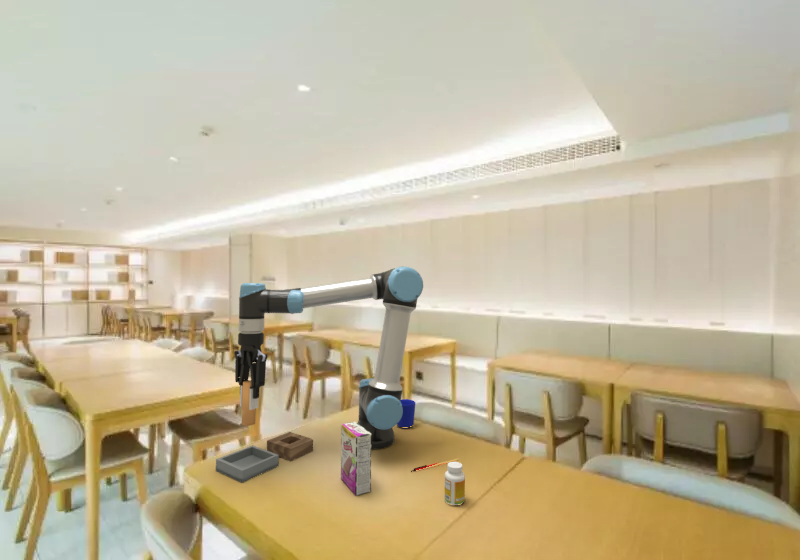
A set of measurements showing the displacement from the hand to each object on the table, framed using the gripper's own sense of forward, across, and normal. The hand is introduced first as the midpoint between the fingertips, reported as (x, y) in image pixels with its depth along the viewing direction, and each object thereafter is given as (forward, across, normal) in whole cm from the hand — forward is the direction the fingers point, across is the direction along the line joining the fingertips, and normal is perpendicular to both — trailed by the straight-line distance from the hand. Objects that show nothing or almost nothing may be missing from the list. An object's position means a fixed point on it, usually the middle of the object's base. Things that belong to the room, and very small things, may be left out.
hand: (248, 407), depth 121 cm
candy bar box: (+19, +34, +11) cm, 41 cm away
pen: (+19, +47, +36) cm, 62 cm away
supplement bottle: (+19, +61, +20) cm, 67 cm away
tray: (+19, 0, 0) cm, 19 cm away
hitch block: (+19, +1, +16) cm, 25 cm away
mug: (+19, +19, +62) cm, 68 cm away
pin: (+5, 0, 0) cm, 5 cm away
